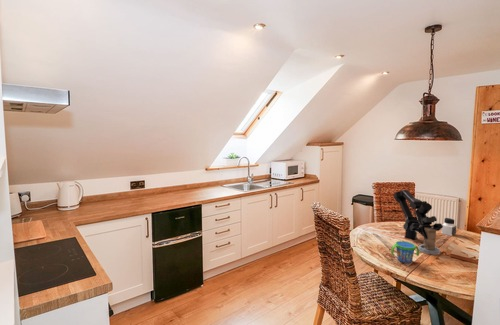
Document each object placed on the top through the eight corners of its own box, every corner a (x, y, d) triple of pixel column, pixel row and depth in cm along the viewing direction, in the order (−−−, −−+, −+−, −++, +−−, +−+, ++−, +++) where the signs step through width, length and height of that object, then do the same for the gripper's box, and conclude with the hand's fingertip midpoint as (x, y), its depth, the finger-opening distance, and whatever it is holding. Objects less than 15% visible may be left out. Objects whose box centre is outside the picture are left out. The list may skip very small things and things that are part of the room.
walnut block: (423, 246, 181) (424, 227, 180) (430, 246, 181) (431, 227, 180) (427, 249, 177) (428, 230, 175) (434, 249, 176) (436, 230, 175)
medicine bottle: (451, 236, 203) (452, 220, 202) (441, 233, 209) (442, 218, 208) (456, 234, 207) (457, 218, 206) (445, 231, 213) (446, 216, 212)
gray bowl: (415, 250, 179) (415, 247, 179) (421, 245, 187) (421, 242, 187) (437, 256, 170) (437, 253, 170) (442, 250, 179) (442, 247, 179)
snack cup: (414, 257, 170) (415, 241, 169) (422, 265, 159) (423, 248, 158) (387, 256, 172) (388, 240, 171) (394, 263, 162) (394, 247, 161)
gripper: (412, 211, 181) (421, 233, 171) (442, 211, 180) (452, 234, 170) (406, 219, 189) (413, 241, 180) (434, 219, 188) (443, 241, 179)
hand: (430, 239), depth 177 cm, fingers closed on walnut block, 4 cm apart
